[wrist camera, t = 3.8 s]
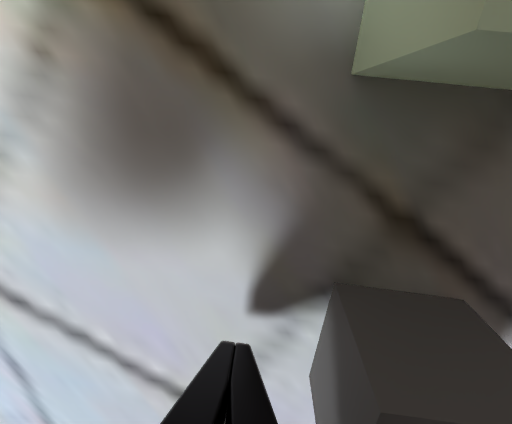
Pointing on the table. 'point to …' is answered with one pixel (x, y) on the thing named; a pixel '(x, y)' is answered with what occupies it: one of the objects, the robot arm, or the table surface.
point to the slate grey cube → (408, 361)
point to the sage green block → (437, 41)
